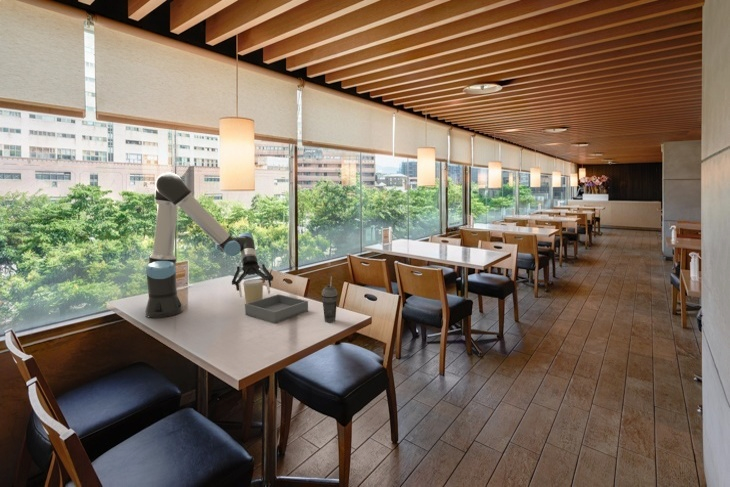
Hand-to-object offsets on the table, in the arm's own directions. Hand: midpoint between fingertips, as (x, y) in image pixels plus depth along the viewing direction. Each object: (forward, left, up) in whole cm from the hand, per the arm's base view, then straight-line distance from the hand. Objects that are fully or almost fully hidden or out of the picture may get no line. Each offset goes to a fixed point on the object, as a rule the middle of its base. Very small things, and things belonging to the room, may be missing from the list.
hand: (255, 294), depth 185 cm
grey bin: (-2, -18, -6) cm, 19 cm away
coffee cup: (0, +1, -6) cm, 6 cm away
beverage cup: (+4, -45, -6) cm, 45 cm away
